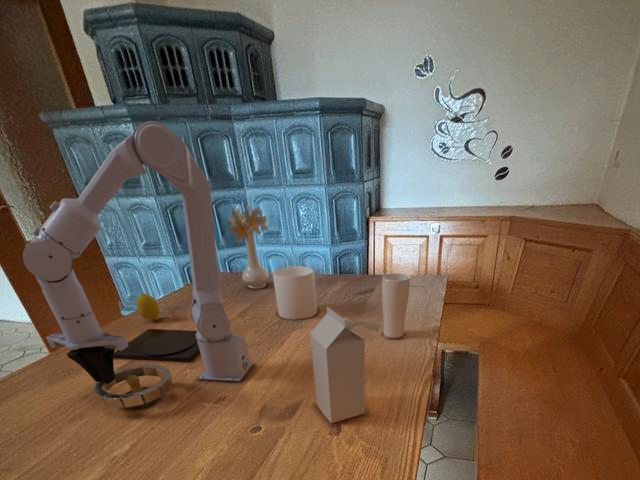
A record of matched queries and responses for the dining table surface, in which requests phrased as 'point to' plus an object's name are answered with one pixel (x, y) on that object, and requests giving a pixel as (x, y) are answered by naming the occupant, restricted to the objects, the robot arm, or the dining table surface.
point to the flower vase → (250, 243)
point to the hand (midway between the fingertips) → (106, 380)
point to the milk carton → (338, 367)
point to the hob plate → (162, 346)
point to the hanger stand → (136, 387)
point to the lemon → (147, 306)
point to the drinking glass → (394, 303)
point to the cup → (295, 292)
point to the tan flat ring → (137, 397)
